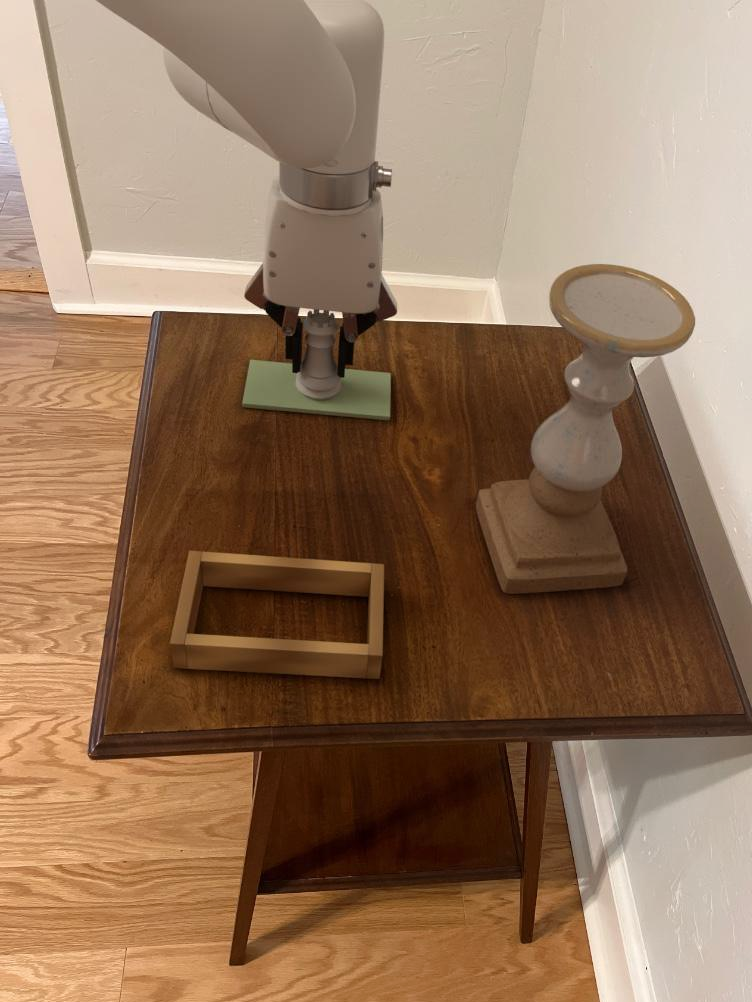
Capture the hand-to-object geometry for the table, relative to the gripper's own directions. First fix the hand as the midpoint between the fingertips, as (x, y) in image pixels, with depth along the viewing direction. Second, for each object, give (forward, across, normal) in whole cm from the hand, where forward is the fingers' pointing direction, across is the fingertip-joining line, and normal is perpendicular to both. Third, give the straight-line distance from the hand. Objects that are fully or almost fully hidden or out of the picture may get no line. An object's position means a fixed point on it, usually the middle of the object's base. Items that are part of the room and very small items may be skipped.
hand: (319, 365), depth 87 cm
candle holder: (+3, -21, +18) cm, 28 cm away
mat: (+3, 0, 0) cm, 3 cm away
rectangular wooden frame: (+3, +1, +29) cm, 30 cm away
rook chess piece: (+3, 0, 0) cm, 3 cm away
